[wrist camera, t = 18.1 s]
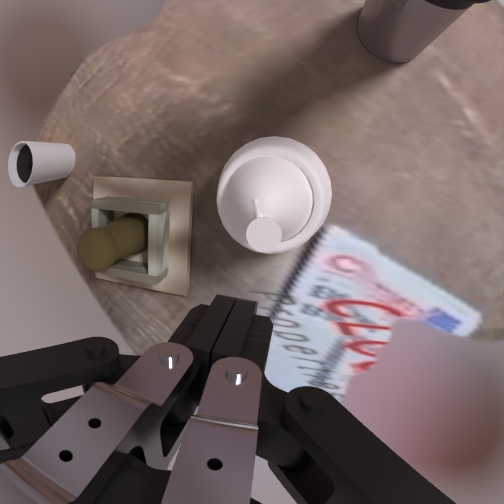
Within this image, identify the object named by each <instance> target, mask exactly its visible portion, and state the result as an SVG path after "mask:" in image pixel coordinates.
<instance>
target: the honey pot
mask: <svg viewBox="0 0 504 504" xmlns="http://www.w3.org/2000/svg"><path fill="white" fill-rule="evenodd" d="M331 198H332V191H331V181H330V178H329V175H328V173H327V170H326V167H325V166H324V164H323V163H322V161H321V160H320V159H319V157H318V156H317V155H316V154H315V153H314V152H313V151H312V150H311V149H309V148H308V147H307V146H306V145H304V144H302V143H300V142H298V141H295V140H293V139H291V138H285V137H278V136H271V137H263V138H258V139H256V140H253V141H251V142H249V143H246V144H245V145H243V146H242V147H241V148H240V149H238V150H237V151H236V152H234V154H233V155H232V156H231V157H230V159H229V160H228V161H227V163H226V164H225V166H224V168H223V171H222V173H221V176H220V179H219V185H218V191H217V199H216V200H217V208H218V214H219V216H220V219H221V221H222V224H223V226H224V227H225V229H226V230H227V231H228V233H229V234H230V235H231V237H232V238H233V239H235V240H236V241H237V242H238V243H240V244H241V245H242V246H244V247H246V248H248V249H250V250H253V251H255V252H260V253H265V254H278V253H284V252H287V251H290V250H293V249H296V248H297V247H299V246H300V245H302V244H303V243H305V242H306V241H308V240H309V238H310V237H311V236H312V235H314V234H315V232H316V231H317V230H318V229H319V228H320V227H321V225H322V224H323V223H324V220H325V218H326V216H327V214H328V212H329V209H330V204H331Z"/></svg>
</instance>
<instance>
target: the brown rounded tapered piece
mask: <svg viewBox="0 0 504 504" xmlns="http://www.w3.org/2000/svg"><path fill="white" fill-rule="evenodd" d="M148 224H149V221H148V220H147V219H146V218H145V217H144V216H143V215H141V214H139V213H133V212H130V213H126V214H125V215H123V216H121V217H120V218H118V219H117V220H115V221H113V222H112V223H110V224H109V225H107V226H105V227H104V228H92V229H89V230H87V231H86V232H85V233H84V234H82V235H81V237H80V239H79V242H78V246H77V250H78V256H79V259H80V260H81V262H82V264H83V265H84V266H85V267H86V268H88V269H90V270H92V271H96V272H99V271H104V270H106V269H108V268H109V267H111V266H112V265H113V263H114V262H115V260H118V259H121V258H124V257H128V256H131V255H135V254H138V253H142V252H144V251H145V250H147V249H148Z"/></svg>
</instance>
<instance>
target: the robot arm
mask: <svg viewBox="0 0 504 504" xmlns="http://www.w3.org/2000/svg"><path fill="white" fill-rule="evenodd" d="M488 1H490V0H365V3H364V6H363V8H362V11H361V14H360V17H359V20H358V23H357V30H358V35H359V37H360V39H361V41H362V43H363V44H364V46H365V47H366V48H367V49H368V50H369V51H370V52H371V53H373V54H374V55H375V56H377V57H379V58H381V59H383V60H385V61H388V62H393V63H405V62H408V61H411V60H412V59H414V58H415V57H416V56H417V55H418V54H419V53H420V52H422V51H423V50H424V49H425V48H426V47H427V46H428V45H429V44H430V43H431V42H433V41H434V40H435V39H436V38H437V37H438V36H439V35H440V34H441V33H442V32H443V31H444V30H446V29H447V28H448V27H449V26H450V25H451V24H452V23H453V22H454V21H455V20H456V19H458V18H459V17H460V16H461V15H462V14H463V13H464V12H465V11H466V10H467V9H468V8H469V7H471V6H472V5H473V4H474V3H484V2H488ZM257 305H258V302H257V301H252V300H246V299H241V298H238V299H237V298H235V297H230V296H224V295H219V294H217V295H216V297H215V298H214V300H213V301H212V303H211V305H210V306H208V305H203V304H200V305H198V306H196V307H194V308H193V309H191V310H190V312H189V313H188V314H187V316H186V318H184V320H183V321H182V322H181V324H180V325H179V327H178V328H177V329H176V331H175V332H174V334H173V335H172V336H171V338H170V339H169V340H168V342H163V343H158V344H155V345H153V346H151V347H150V348H148V349H147V350H146V352H145V353H144V354H143V355H142V356H135V355H121V354H119V348H118V346H117V344H116V343H115V342H114V341H112V340H110V339H108V338H104V337H90V338H86V339H81V340H77V341H73V342H68V343H64V344H60V345H55V346H51V347H46V348H41V349H37V350H32V351H27V352H23V353H18V354H13V355H8V356H3V357H0V504H261V503H260V502H258V501H256V500H254V499H252V498H251V489H252V480H253V472H254V471H253V470H254V463H255V455H257V456H259V457H262V458H263V459H266V460H267V461H268V466H269V468H270V469H271V470H272V472H273V473H274V474H275V476H276V477H277V479H278V480H279V481H280V482H281V484H282V485H283V486H284V488H285V489H286V490H287V491H288V493H289V494H290V495H291V496H292V497H293V499H294V500H295V501H296V503H297V504H456V503H455V502H454V501H452V500H451V499H450V498H449V497H447V496H446V495H445V494H444V493H442V492H441V491H440V490H439V489H437V488H436V487H435V486H434V485H433V484H431V483H430V482H429V481H428V480H426V479H425V478H424V477H423V476H421V475H420V474H419V473H418V472H417V471H416V470H415V469H413V468H412V467H411V466H410V465H409V464H408V463H406V462H405V461H404V460H403V459H402V458H401V457H399V456H398V455H397V454H396V453H395V452H394V451H392V450H391V449H390V448H389V447H388V446H387V445H386V444H385V443H383V442H382V441H381V440H380V439H379V438H377V437H376V436H375V435H374V434H373V433H372V432H371V431H370V430H369V429H368V428H366V427H365V426H364V425H363V424H362V423H361V422H360V421H359V420H357V418H355V417H354V416H353V415H352V414H351V413H350V412H349V411H348V410H347V409H346V408H345V407H344V406H342V405H341V404H340V403H339V402H338V401H337V400H336V399H335V398H334V397H333V396H332V395H331V394H329V393H328V392H326V391H324V390H322V389H320V388H316V387H310V386H303V387H298V388H295V389H293V390H291V391H290V392H289V393H288V392H285V391H283V390H281V389H279V388H277V387H275V386H273V385H272V384H271V383H270V382H269V381H268V380H267V378H266V377H265V374H264V371H265V367H266V362H267V357H268V352H269V346H270V341H271V335H272V330H273V324H272V322H271V320H270V318H269V317H266V316H260V315H256V312H257ZM80 385H82V387H83V391H84V395H81V396H78V397H74V398H70V399H67V400H63V401H59V402H55V403H46V402H44V401H43V400H42V399H41V398H42V397H43V396H44V395H46V394H49V393H52V392H57V391H60V390H64V389H68V388H72V387H76V386H80ZM197 406H199V407H198V411H197V414H196V415H193V414H194V412H195V410H196V408H197ZM180 444H181V445H180ZM179 446H180V448H179ZM178 448H179V452H178V454H177V457H176V460H175V463H174V466H173V469H172V471H169V470H167V468H168V466H169V463H170V461H171V460H172V458H173V456H174V455H175V453H176V451H177V449H178Z"/></svg>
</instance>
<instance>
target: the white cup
mask: <svg viewBox="0 0 504 504" xmlns="http://www.w3.org/2000/svg"><path fill="white" fill-rule="evenodd" d="M75 161H76V160H75V153H74V150H73V148H72V147H71V146H70V145H68V144H61V143H47V142H29V141H21V142H19V143H17V144H16V145H15V146H14V147H13V149H12V151H11V153H10V156H9V163H8V170H9V176H10V179H11V181H12V183H13V184H14V185H15V186H17V187H19V188H20V187H24V186H28V185H33V184H38V183H42V182H47V181H52V180H56V179H61V178H66V177H68V176H69V175H70V174H71V173H72V171H73V169H74V167H75Z"/></svg>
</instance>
